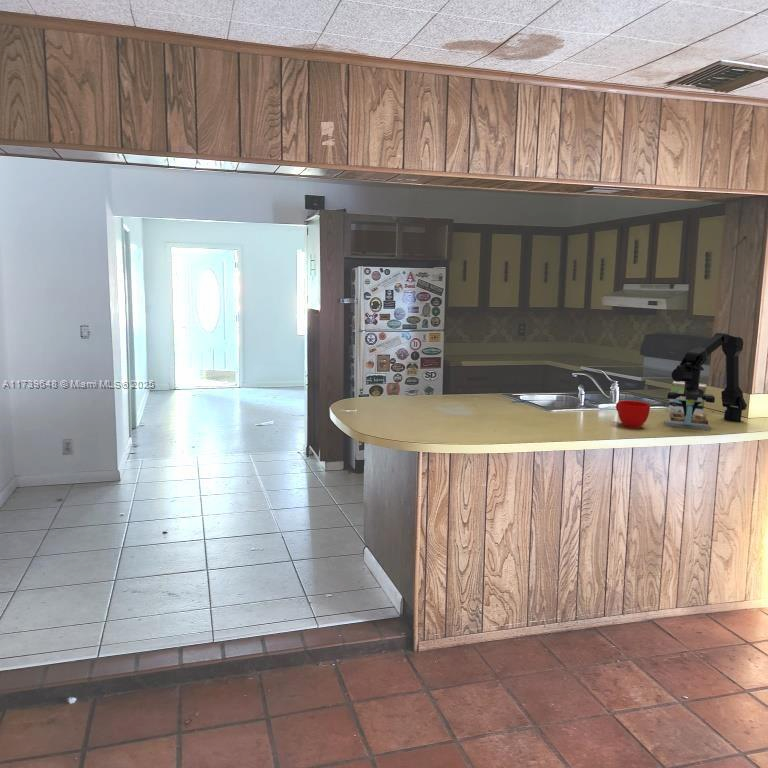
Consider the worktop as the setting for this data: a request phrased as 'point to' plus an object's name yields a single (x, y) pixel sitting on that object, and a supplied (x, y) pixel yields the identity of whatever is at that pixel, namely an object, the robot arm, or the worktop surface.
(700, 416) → the offcut upper
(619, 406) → the ceramic cup
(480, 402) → the worktop surface
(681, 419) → the tray
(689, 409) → the teal flat block
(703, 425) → the mat
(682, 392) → the tea box
